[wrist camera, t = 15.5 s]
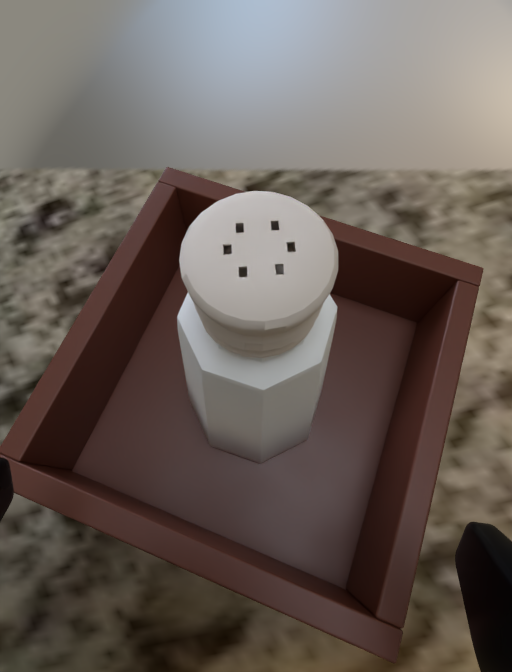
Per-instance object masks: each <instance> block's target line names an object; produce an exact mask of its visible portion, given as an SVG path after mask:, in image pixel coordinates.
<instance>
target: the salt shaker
mask: <svg viewBox="0 0 512 672" xmlns="http://www.w3.org/2000/svg"><path fill="white" fill-rule="evenodd" d="M179 263H180V270H181V276H182V280H183V282H184V284H185V286H186V288H187V291H188V293H187V295H186V298H185V300H184V302H183V304H182V307H181V309H180V311H179V313H178V316H177V327H178V335H179V341H180V347H181V353H182V359H183V364H184V370H185V376H186V382H187V388H188V394H189V400H190V402H191V404H192V406H193V409H194V411H195V413H196V415H197V418H198V420H199V422H200V424H201V427H202V429H203V431H204V433H205V436H206V438H207V440H208V442H209V445H210V446H211V447H214V448H217V449H220V450H222V451H225V452H228V453H231V454H234V455H237V456H239V457H242V458H245V459H248V460H251V461H254V462H257V463H259V464H261V463H263V462H265V461H267V460H269V459H271V458H273V457H275V456H277V455H279V454H281V453H283V452H284V451H286V450H288V449H290V448H292V447H294V446H296V445H298V444H300V443H302V442H304V441H306V440H308V436H309V433H310V429H311V426H312V422H313V419H314V415H315V412H316V408H317V405H318V401H319V398H320V395H321V391H322V386H323V382H324V377H325V372H326V367H327V363H328V358H329V353H330V348H331V343H332V339H333V334H334V329H335V324H336V319H337V305H336V304H335V302H334V301H333V299H332V297H331V296H330V292H331V290H332V289H333V286H334V283H335V279H336V276H337V273H338V249H337V246H336V243H335V240H334V237H333V234H332V232H331V231H330V229H329V228H328V226H327V225H326V223H325V222H324V220H323V219H322V218H321V217H320V216H319V215H317V214H316V213H315V212H314V211H313V210H312V209H311V208H310V207H308V206H307V205H305V204H303V203H301V202H299V201H297V200H295V199H293V198H292V197H289V196H285V195H282V194H278V193H275V192H264V191H251V192H245V193H238V194H234V195H232V196H229V197H227V198H224V199H222V200H219V201H217V202H216V203H214V204H213V205H211V206H210V207H208V208H207V209H206V210H204V211H203V212H201V213H200V215H199V216H198V217H197V218H196V219H195V220H194V222H193V223H192V224H191V225H190V226H189V228H188V230H187V232H186V235H185V237H184V239H183V241H182V244H181V251H180V257H179Z"/></svg>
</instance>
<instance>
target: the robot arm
mask: <svg viewBox="0 0 512 672" xmlns="http://www.w3.org/2000/svg"><path fill="white" fill-rule="evenodd" d="M13 494H14V487H13V481H12V475H11V469H10V464H9V462H8V460H7V459H5V458H2V457H0V521H1V520H2V518H3V516H4V514H5V512H6V511H7V509H8V507H9V505H10V503H11V501H12V498H13ZM455 562H456V568H457V573H458V578H459V582H460V587H461V592H462V596H463V601H464V605H465V610H466V615H467V619H468V624H469V629H470V633H471V638H472V642H473V646H474V650H475V654H476V658H477V661H478V664H479V668H480V671H481V672H512V541H511V540H509V539H508V538H507V537H506V536H505V535H504V534H503V533H502V532H501V531H499V530H498V529H497V528H496V527H495V526H493V525H491V524H486V523H478V522H470V523H468V524H467V526H466V528H465V530H464V533H463V535H462V538H461V540H460V543H459V545H458V548H457V551H456V555H455Z"/></svg>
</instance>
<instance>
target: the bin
mask: <svg viewBox="0 0 512 672" xmlns="http://www.w3.org/2000/svg"><path fill="white" fill-rule="evenodd" d="M238 193H245V192H244V191H241V190H238V189H235V188H232V187H229V186H226V185H222V184H219V183H216V182H213V181H210V180H207V179H204V178H201V177H197V176H194V175H191V174H188V173H185V172H182V171H179V170H176V169H172V168H169V167H166V169H165V170H164V172H163V174H162V175H161V177H160V179H159V181H158V182H157V184H156V186H155V187H154V189H153V191H152V192H151V194H150V196H149V197H148V199H147V201H146V202H145V204H144V206H143V207H142V209H141V211H140V212H139V214H138V216H137V218H136V219H135V221H134V223H133V224H132V226H131V228H130V229H129V231H128V233H127V234H126V236H125V238H124V239H123V241H122V243H121V244H120V246H119V248H118V250H117V251H116V253H115V255H114V256H113V258H112V260H111V261H110V263H109V265H108V266H107V268H106V270H105V271H104V273H103V275H102V276H101V278H100V280H99V281H98V283H97V285H96V287H95V288H94V290H93V292H92V293H91V295H90V297H89V298H88V300H87V302H86V303H85V305H84V307H83V308H82V310H81V312H80V313H79V315H78V317H77V319H76V320H75V322H74V324H73V325H72V327H71V329H70V330H69V332H68V334H67V335H66V337H65V339H64V340H63V342H62V344H61V345H60V347H59V349H58V350H57V352H56V354H55V356H54V357H53V359H52V361H51V362H50V364H49V366H48V367H47V369H46V371H45V372H44V374H43V376H42V377H41V379H40V381H39V382H38V384H37V386H36V388H35V389H34V391H33V393H32V394H31V396H30V398H29V399H28V401H27V403H26V404H25V406H24V408H23V409H22V411H21V413H20V414H19V416H18V418H17V419H16V421H15V423H14V425H13V426H12V428H11V430H10V431H9V433H8V435H7V436H6V438H5V440H4V441H3V443H2V445H1V446H0V457H2V458H5V459H7V460H8V462H9V464H10V469H11V475H12V481H13V487H14V493H16V494H18V495H20V496H23V497H25V498H27V499H29V500H32V501H34V502H36V503H38V504H40V505H43V506H45V507H47V508H49V509H52V510H54V511H56V512H58V513H60V514H63V515H65V516H67V517H69V518H72V519H74V520H76V521H78V522H80V523H83V524H85V525H87V526H89V527H92V528H94V529H96V530H98V531H100V532H103V533H105V534H107V535H109V536H112V537H114V538H116V539H118V540H120V541H123V542H125V543H127V544H129V545H132V546H134V547H136V548H138V549H140V550H143V551H145V552H147V553H149V554H152V555H154V556H156V557H158V558H160V559H163V560H165V561H167V562H169V563H172V564H174V565H176V566H178V567H180V568H183V569H185V570H187V571H189V572H192V573H194V574H196V575H198V576H200V577H203V578H205V579H207V580H209V581H212V582H214V583H216V584H218V585H220V586H223V587H225V588H227V589H229V590H232V591H234V592H236V593H238V594H240V595H243V596H245V597H247V598H249V599H252V600H254V601H256V602H258V603H260V604H263V605H265V606H267V607H269V608H272V609H274V610H276V611H278V612H280V613H283V614H285V615H287V616H289V617H292V618H294V619H296V620H298V621H300V622H303V623H305V624H307V625H309V626H312V627H314V628H316V629H318V630H320V631H323V632H325V633H327V634H329V635H331V636H334V637H336V638H338V639H340V640H343V641H345V642H347V643H349V644H351V645H354V646H356V647H358V648H360V649H363V650H365V651H367V652H369V653H371V654H374V655H376V656H378V657H380V658H383V659H385V660H387V661H389V662H391V663H396V661H397V657H398V652H399V648H400V643H401V639H402V634H403V631H402V630H401V629H402V628H403V627H404V624H405V619H406V615H407V610H408V605H409V601H410V596H411V592H412V587H413V583H414V578H415V574H416V569H417V565H418V560H419V556H420V551H421V547H422V542H423V538H424V533H425V529H426V524H427V520H428V515H429V511H430V506H431V502H432V497H433V493H434V488H435V484H436V479H437V475H438V470H439V466H440V461H441V457H442V452H443V448H444V443H445V439H446V434H447V430H448V425H449V421H450V416H451V412H452V407H453V403H454V398H455V393H456V389H457V384H458V380H459V375H460V371H461V366H462V362H463V357H464V353H465V348H466V344H467V339H468V335H469V330H470V326H471V321H472V317H473V312H474V308H475V303H476V299H477V294H478V290H479V286H480V282H481V278H482V273H483V268H481V267H478V266H475V265H472V264H469V263H466V262H463V261H460V260H456V259H453V258H450V257H447V256H444V255H441V254H438V253H435V252H432V251H428V250H425V249H422V248H419V247H416V246H413V245H410V244H407V243H403V242H400V241H397V240H394V239H391V238H388V237H385V236H382V235H378V234H375V233H372V232H369V231H366V230H363V229H360V228H357V227H354V226H350V225H347V224H344V223H341V222H338V221H335V220H332V219H329V218H325V217H322V216H320V217H321V218H322V219H323V220H324V222H325V223H326V225H327V226H328V228H329V229H330V231H331V232H332V234H333V237H334V240H335V243H336V246H337V249H338V273H337V276H336V279H335V283H334V286H333V289H332V290H331V292H330V296H331V297H332V299H333V301H334V302H335V304H336V305H337V319H336V324H335V329H334V334H333V339H332V343H331V348H330V353H329V358H328V363H327V367H326V372H325V377H324V382H323V386H322V391H321V395H320V398H319V401H318V405H317V408H316V412H315V415H314V419H313V422H312V426H311V429H310V433H309V436H308V440H306V441H304V442H302V443H300V444H298V445H296V446H294V447H292V448H290V449H288V450H286V451H284V452H283V453H281V454H279V455H277V456H275V457H273V458H271V459H269V460H267V461H265V462H263V463H261V464H259V463H257V462H254V461H251V460H248V459H245V458H242V457H239V456H237V455H234V454H231V453H228V452H225V451H222V450H220V449H217V448H214V447H211V446H210V445H209V442H208V440H207V438H206V436H205V433H204V431H203V429H202V427H201V424H200V422H199V420H198V418H197V415H196V413H195V411H194V409H193V406H192V404H191V402H190V400H189V394H188V388H187V382H186V376H185V370H184V364H183V359H182V353H181V347H180V341H179V335H178V327H177V316H178V313H179V311H180V309H181V307H182V304H183V302H184V300H185V298H186V295H187V293H188V291H187V288H186V286H185V284H184V282H183V280H182V276H181V270H180V263H179V257H180V251H181V244H182V241H183V239H184V237H185V235H186V232H187V230H188V228H189V226H190V225H191V224H192V223H193V222H194V220H195V219H196V218H197V217H198V216H199V215H200V213H201V212H203V211H204V210H206V209H207V208H208V207H210V206H211V205H213V204H214V203H216V202H217V201H219V200H222V199H224V198H227V197H229V196H232V195H234V194H238Z"/></svg>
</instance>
